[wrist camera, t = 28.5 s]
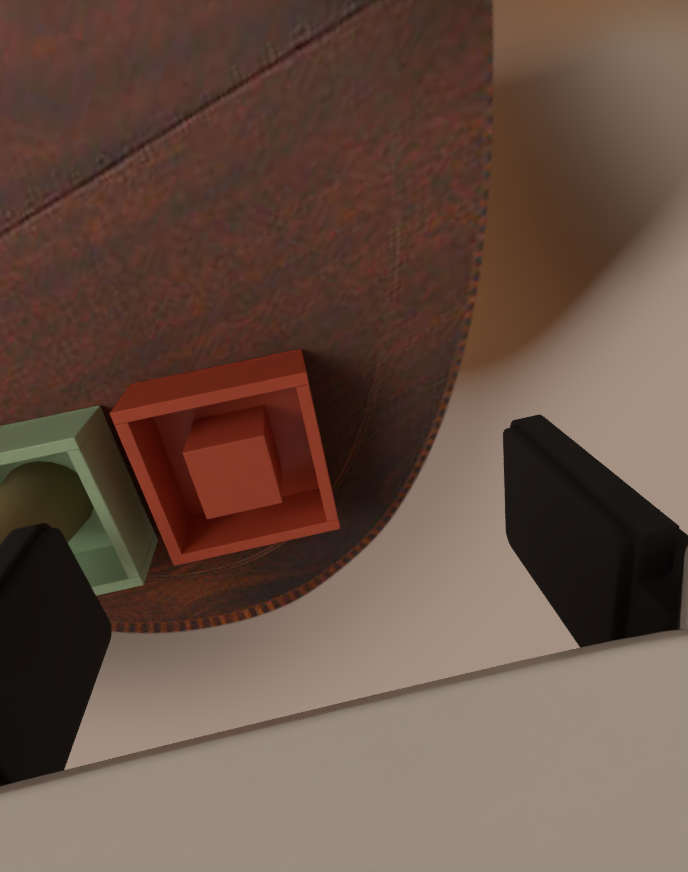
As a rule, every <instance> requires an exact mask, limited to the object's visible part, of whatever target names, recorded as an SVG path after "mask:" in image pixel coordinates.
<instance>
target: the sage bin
mask: <svg viewBox="0 0 688 872" xmlns="http://www.w3.org/2000/svg"><path fill="white" fill-rule="evenodd" d="M35 461H43V462H53V463H57V464H60V465H63V466H66V467H68V468H70V469H71V470H73V471H75V472H76V473H78V475H79V477H80V480H81V482H82V484H83V486H84V488H85V490H86V492H87V494H88V496H89V498H90V500H91V502H92V504H93V506H94V508H93V511H92V514H91V517H90V518H89V519H88V520H87V521H86V522H85V524H84V525H83V526H82V527H81V528H80V529H79V531H78V532H77V533H76V534H75V535H74V536H73V538H72V539H71V540H70V541H69V542H68V544H69V546H70V548H71V550H72V552H73V554H74V556H75V557H76V559H77V561H78V563H79V565H80V567H81V569H82V570H83V572H84V574H85V576H86V578H87V580H88V582H89V584H90V585H91V587H92V589H93V591H94V593H95V595H96V596H97V595H101V594H105V593H110V592H114V591H119V590H123V589H128V588H132V587H136V586H141V585H144V582H145V579H146V576H147V573H148V570H149V567H150V564H151V561H152V558H153V554H154V551H155V548H156V545H157V542H158V539H157V536H156V534H155V532H154V529H153V527H152V525H151V522H150V520H149V518H148V516H147V513H146V511H145V509H144V506H143V504H142V502H141V499H140V497H139V495H138V492H137V490H136V488H135V485H134V483H133V481H132V478H131V476H130V474H129V471H128V469H127V467H126V464H125V462H124V460H123V457H122V455H121V453H120V450H119V448H118V446H117V444H116V441H115V439H114V437H113V434H112V432H111V430H110V427H109V425H108V423H107V420H106V418H105V416H104V413H103V411H102V409H101V406H100V405H99V406H94V407H90V408H85V409H80V410H75V411H70V412H66V413H61V414H56V415H51V416H47V417H42V418H37V419H32V420H27V421H23V422H18V423H13V424H8V425H3V426H0V486H1V484H2V482H3V481H4V479H5V478H6V477H7V476H8V474H9V473H10V472H11V471H12V470H13V469H15V468H17V467H19V466H20V465H22V464H26V463H30V462H35Z"/></svg>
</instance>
